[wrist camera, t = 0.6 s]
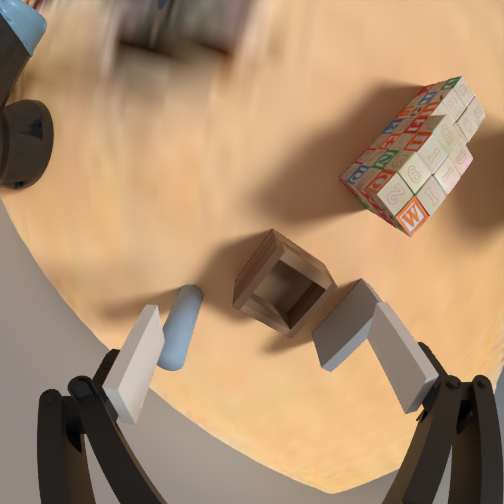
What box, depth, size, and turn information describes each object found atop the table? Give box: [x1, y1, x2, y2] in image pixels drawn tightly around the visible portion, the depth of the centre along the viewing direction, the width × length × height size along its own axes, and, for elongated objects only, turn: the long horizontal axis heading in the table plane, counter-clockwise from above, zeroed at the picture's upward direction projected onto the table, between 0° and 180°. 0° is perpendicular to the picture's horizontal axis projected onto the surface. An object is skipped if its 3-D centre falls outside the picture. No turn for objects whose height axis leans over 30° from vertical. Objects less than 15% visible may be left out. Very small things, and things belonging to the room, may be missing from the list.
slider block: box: [232, 229, 338, 338], centre depth 35 cm, size 9×9×7 cm
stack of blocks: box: [339, 76, 486, 237], centre depth 26 cm, size 21×6×12 cm, turn 139°
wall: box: [312, 278, 383, 372], centre depth 37 cm, size 2×12×8 cm, turn 146°
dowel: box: [157, 285, 203, 371], centre depth 33 cm, size 4×4×14 cm
